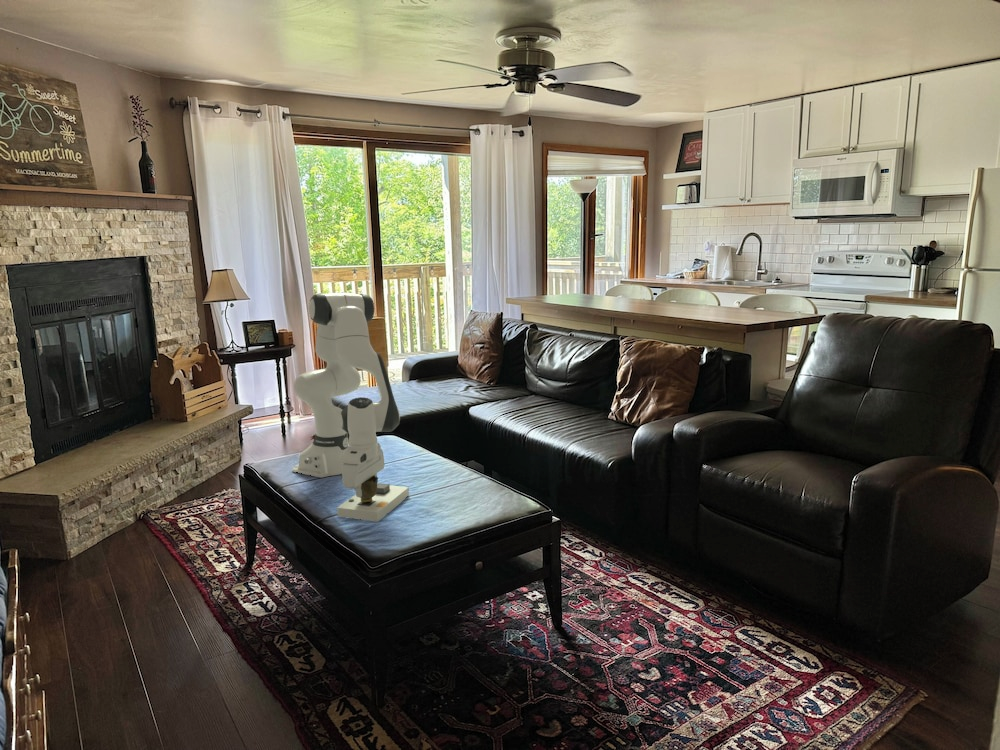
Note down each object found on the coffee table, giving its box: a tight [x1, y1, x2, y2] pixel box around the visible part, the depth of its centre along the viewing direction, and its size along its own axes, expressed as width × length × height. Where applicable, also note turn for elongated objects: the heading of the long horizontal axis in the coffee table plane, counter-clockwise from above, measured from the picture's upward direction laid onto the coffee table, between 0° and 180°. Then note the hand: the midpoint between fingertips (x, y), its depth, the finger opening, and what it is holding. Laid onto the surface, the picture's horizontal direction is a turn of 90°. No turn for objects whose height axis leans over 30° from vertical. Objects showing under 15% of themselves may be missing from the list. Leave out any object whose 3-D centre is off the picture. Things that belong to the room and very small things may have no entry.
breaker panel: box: [336, 484, 410, 523], centre depth 213 cm, size 14×22×3 cm, turn 162°
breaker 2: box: [376, 482, 391, 495], centre depth 218 cm, size 4×4×3 cm
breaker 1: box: [358, 500, 375, 506], centre depth 209 cm, size 4×4×3 cm
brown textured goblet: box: [360, 475, 379, 503], centre depth 208 cm, size 8×7×8 cm
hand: (365, 492), depth 208 cm, fingers closed on brown textured goblet, 6 cm apart
